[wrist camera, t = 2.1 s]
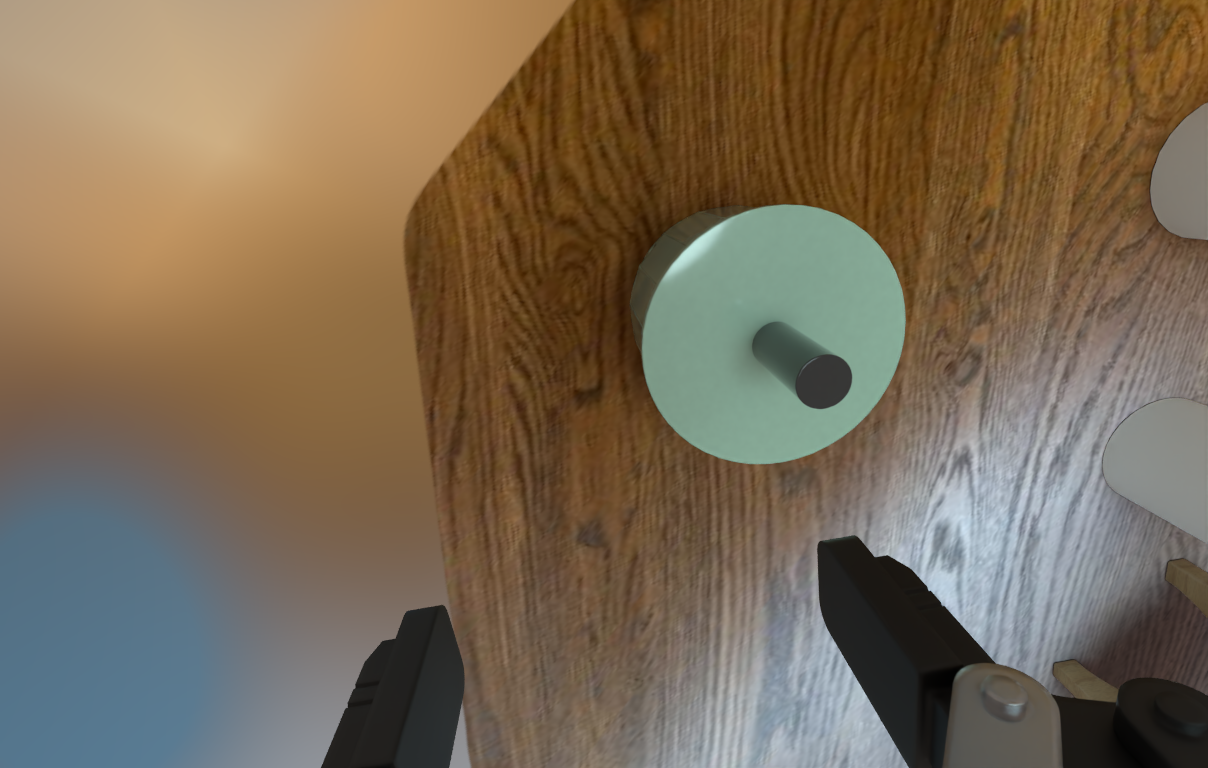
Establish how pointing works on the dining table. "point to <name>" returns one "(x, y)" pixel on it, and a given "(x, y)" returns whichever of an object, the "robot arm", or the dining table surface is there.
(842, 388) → the lid
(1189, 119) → the base with upright slab
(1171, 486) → the container
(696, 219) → the pot
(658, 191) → the dining table surface
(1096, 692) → the planter
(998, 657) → the dining table surface
